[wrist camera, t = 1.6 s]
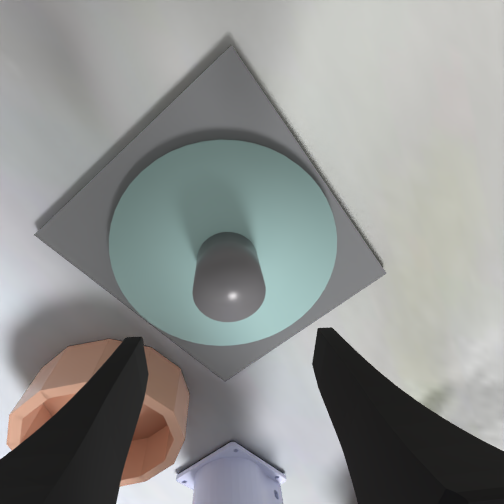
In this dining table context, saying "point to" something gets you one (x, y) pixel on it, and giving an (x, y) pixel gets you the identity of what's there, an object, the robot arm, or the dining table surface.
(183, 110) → the mat
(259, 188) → the lid
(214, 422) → the dining table surface
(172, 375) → the bowl
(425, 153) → the dining table surface
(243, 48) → the dining table surface
